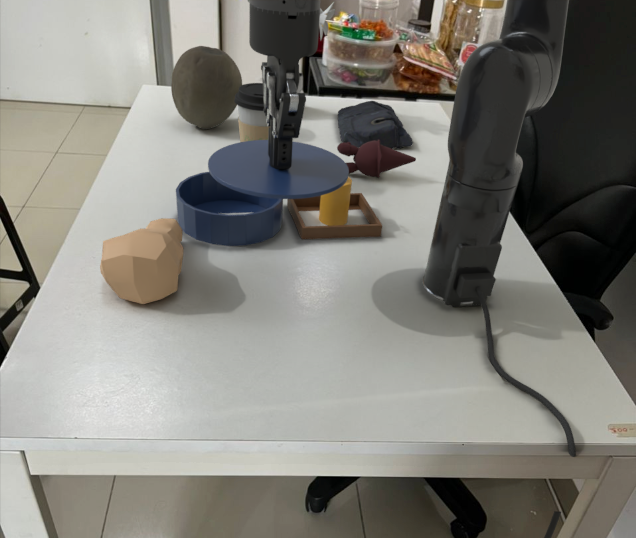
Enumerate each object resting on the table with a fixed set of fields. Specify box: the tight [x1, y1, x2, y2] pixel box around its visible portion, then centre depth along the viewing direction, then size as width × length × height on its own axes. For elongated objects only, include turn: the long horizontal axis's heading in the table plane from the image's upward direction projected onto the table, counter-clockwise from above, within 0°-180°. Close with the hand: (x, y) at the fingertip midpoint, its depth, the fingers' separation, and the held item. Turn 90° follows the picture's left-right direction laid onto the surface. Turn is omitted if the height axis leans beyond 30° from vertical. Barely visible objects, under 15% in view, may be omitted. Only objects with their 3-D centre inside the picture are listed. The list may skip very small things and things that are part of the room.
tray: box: [286, 192, 384, 240], centre depth 107 cm, size 12×13×2 cm
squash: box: [99, 217, 185, 305], centre depth 89 cm, size 11×20×9 cm, turn 0°
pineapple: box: [318, 176, 353, 226], centre depth 104 cm, size 5×5×9 cm
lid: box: [207, 117, 349, 200], centre depth 78 cm, size 17×17×7 cm
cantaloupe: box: [170, 45, 243, 130], centre depth 132 cm, size 14×14×15 cm
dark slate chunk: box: [337, 100, 414, 150], centre depth 141 cm, size 15×22×5 cm
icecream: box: [336, 140, 417, 179], centre depth 122 cm, size 7×7×15 cm
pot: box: [175, 171, 284, 247], centre depth 103 cm, size 17×17×6 cm
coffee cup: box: [234, 82, 269, 143], centre depth 115 cm, size 9×9×15 cm
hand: (279, 162), depth 79 cm, fingers closed on lid, 2 cm apart
